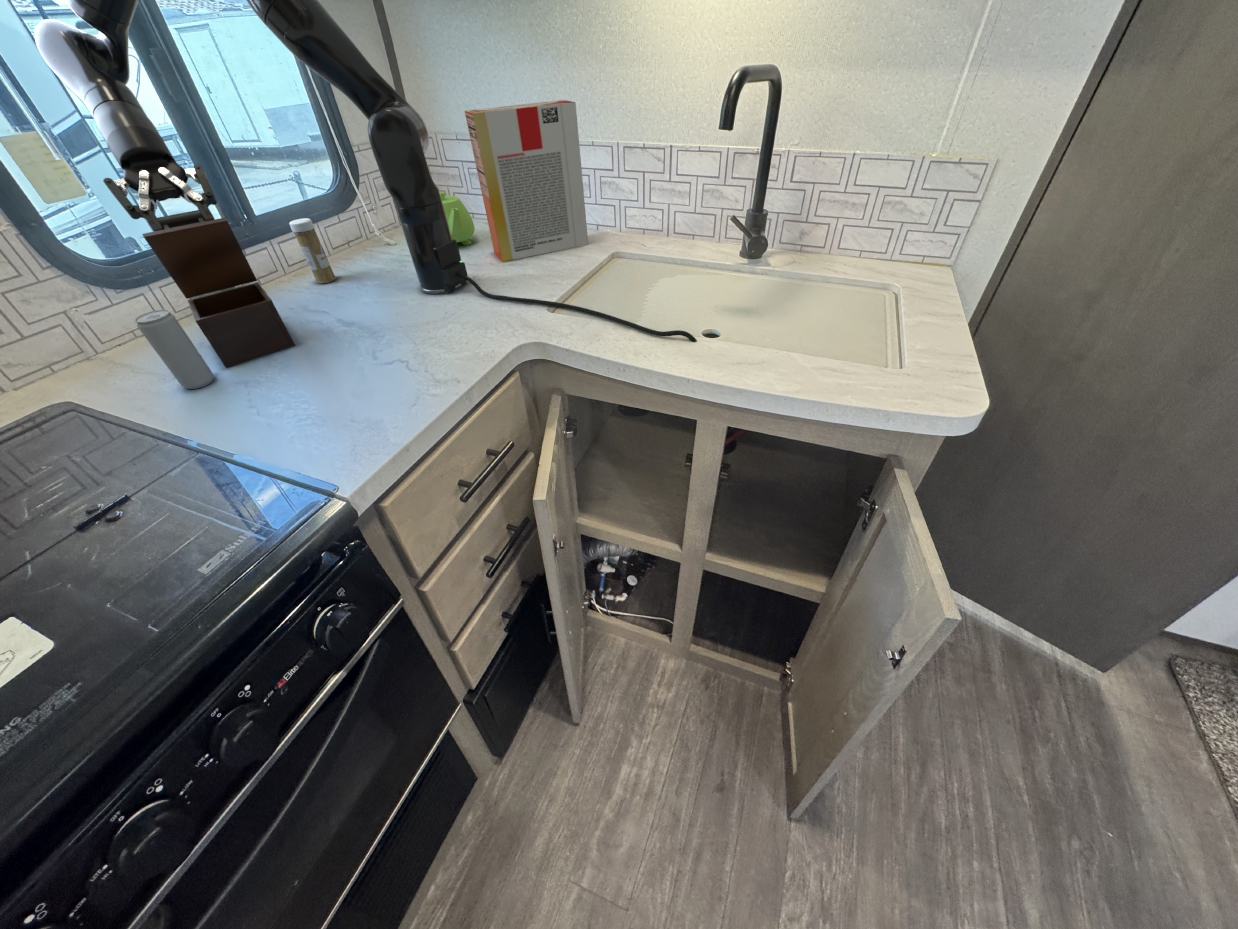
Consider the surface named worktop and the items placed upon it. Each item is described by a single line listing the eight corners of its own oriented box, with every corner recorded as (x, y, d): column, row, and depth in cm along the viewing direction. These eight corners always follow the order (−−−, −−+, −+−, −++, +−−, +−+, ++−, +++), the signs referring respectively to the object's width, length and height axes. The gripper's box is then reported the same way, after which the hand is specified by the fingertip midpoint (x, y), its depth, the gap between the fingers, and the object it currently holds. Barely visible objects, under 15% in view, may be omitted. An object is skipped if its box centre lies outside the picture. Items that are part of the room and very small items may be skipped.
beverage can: (193, 376, 86) (146, 310, 78) (221, 374, 86) (177, 307, 78) (177, 391, 82) (125, 323, 74) (206, 389, 82) (158, 321, 74)
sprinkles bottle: (338, 280, 118) (312, 220, 109) (317, 285, 116) (289, 224, 107) (334, 275, 121) (309, 216, 112) (314, 280, 119) (287, 220, 110)
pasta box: (576, 236, 134) (562, 99, 115) (588, 244, 129) (575, 101, 109) (494, 252, 127) (464, 110, 108) (502, 261, 122) (472, 113, 102)
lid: (227, 220, 83) (213, 198, 84) (143, 237, 77) (130, 213, 79) (257, 280, 94) (245, 260, 96) (186, 298, 89) (174, 277, 90)
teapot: (489, 246, 132) (477, 194, 123) (439, 258, 127) (424, 204, 118) (463, 230, 145) (451, 181, 137) (418, 240, 140) (403, 190, 131)
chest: (295, 345, 93) (271, 299, 87) (225, 367, 88) (195, 320, 82) (280, 324, 100) (257, 281, 95) (215, 344, 95) (187, 299, 89)
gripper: (68, 130, 76) (125, 225, 76) (177, 118, 83) (229, 205, 83) (94, 167, 83) (146, 254, 83) (193, 152, 89) (242, 233, 90)
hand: (188, 229), depth 83 cm, fingers closed on lid, 6 cm apart
